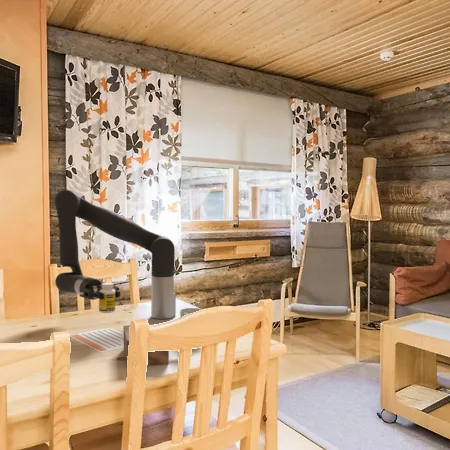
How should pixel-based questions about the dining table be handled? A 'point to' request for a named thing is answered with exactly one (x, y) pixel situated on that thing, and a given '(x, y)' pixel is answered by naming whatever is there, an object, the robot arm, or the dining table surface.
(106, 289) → the supplement bottle
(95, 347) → the letter
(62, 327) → the dining table surface
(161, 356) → the walnut box
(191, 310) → the cup
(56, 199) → the robot arm
